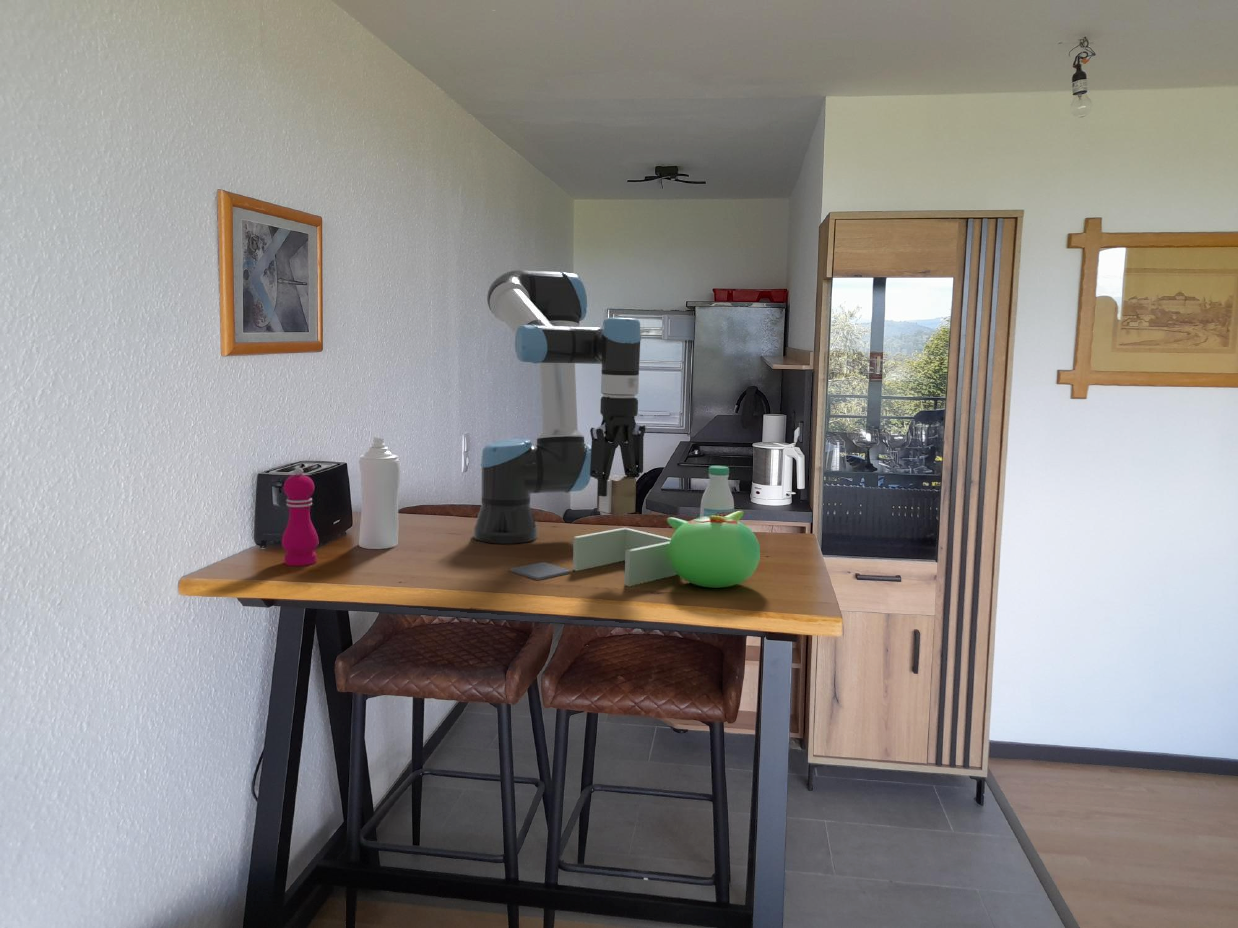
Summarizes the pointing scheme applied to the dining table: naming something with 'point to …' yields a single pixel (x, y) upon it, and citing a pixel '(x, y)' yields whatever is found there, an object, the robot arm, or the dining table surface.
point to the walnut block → (621, 495)
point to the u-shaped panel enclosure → (625, 553)
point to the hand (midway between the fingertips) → (615, 509)
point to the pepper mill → (299, 521)
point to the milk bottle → (717, 494)
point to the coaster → (540, 570)
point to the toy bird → (713, 550)
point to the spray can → (379, 497)
